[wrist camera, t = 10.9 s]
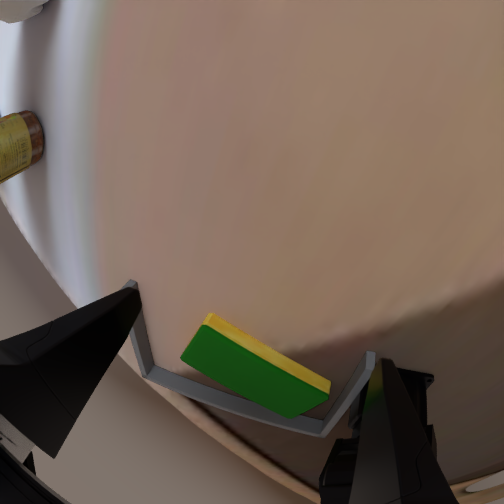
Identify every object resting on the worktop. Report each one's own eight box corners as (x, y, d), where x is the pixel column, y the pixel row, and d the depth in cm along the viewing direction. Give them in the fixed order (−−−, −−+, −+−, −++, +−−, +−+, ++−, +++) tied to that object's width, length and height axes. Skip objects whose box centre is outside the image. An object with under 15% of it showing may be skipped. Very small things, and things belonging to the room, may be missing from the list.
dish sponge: (294, 403, 32) (289, 420, 30) (188, 343, 32) (178, 359, 30) (333, 379, 28) (330, 399, 26) (212, 307, 27) (201, 326, 25)
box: (375, 352, 24) (374, 370, 22) (327, 424, 32) (324, 438, 30) (130, 279, 28) (118, 291, 27) (150, 366, 37) (142, 377, 35)
